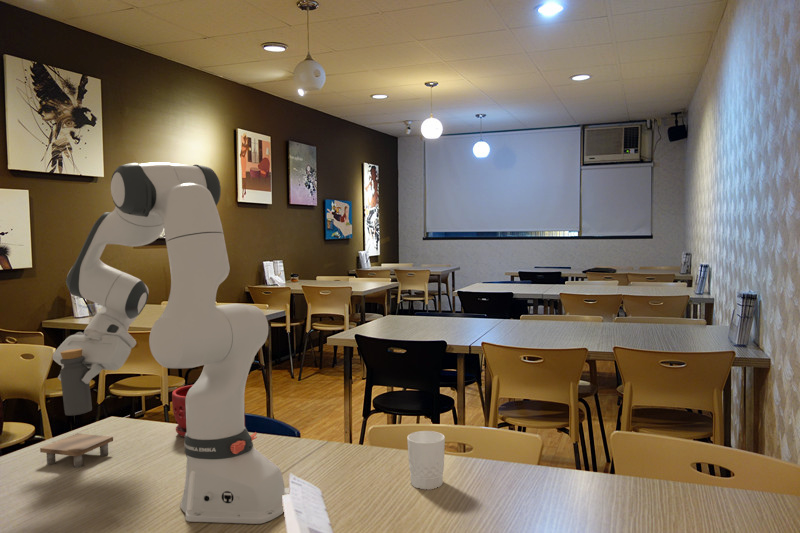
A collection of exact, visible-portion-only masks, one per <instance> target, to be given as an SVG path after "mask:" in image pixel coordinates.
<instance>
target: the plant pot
mask: <svg viewBox="0 0 800 533" xmlns="http://www.w3.org/2000/svg"><path fill="white" fill-rule="evenodd" d="M193 385H194V384H190V385H185V386H181V387H178V388H176V389H174V390H173V391H172V393H171V402H172V411H173V412H172V413H173V416H174V419H175V422H176V423H177V426H175V432H176V433H177V435H179V436H181V437H184V438H185V434H186V432H187V428H186V395H187V393H188V391H189V389H190V388H191V387H192V386H193Z"/></svg>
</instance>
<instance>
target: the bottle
mask: <svg viewBox="0 0 800 533" xmlns="http://www.w3.org/2000/svg"><path fill="white" fill-rule="evenodd" d="M82 350H83V349H72V350H66V351H62V352H60V353H61V356H62V359H61V360H60V362H61V364H64V368H63V369H62V368H61V369H60V371H59V374H60V377H61V381H60V384H61V391H62V400H63V410H64V415H65V416H69V417H70V416H71V417H72V416H78V415H83V414H86V413H88V412H91V411H92V410H93V406H92V403H93V402H92V394H91V388H90V382H89V383H88V384H85V383H82V382H81V381H80V380H79V379H80V378H81V376H82V375H83V374H86V373H87V372H88V371H89V368H87V366H85V365H83V364H82V361H84V360H85V358H84V356H82Z"/></svg>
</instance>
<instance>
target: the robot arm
mask: <svg viewBox="0 0 800 533" xmlns="http://www.w3.org/2000/svg"><path fill="white" fill-rule="evenodd" d="M219 179H220V178H219V176H218V175H217V174H216V172H215V170H213V169H212V168H211V167H208V166H205V165H199V164H193V165H191V164H183V163H173V162H172V163H171V162H167V161H164V162H163V161H162V162H160V161H159V162H158V161H157V162H144V163H138V162H130V163H126V164H121V165H119V166H117V167H116V169H115V170H114V172H113V173H112V175H111V178H110V192H111V198H112V201H113V202H112V203H113V204H114V205H115V207H114V209H113V210H112V211H110V212H109V211H107V212H104V213H103V214H102V215H100V216H99V217H98V218H97V220H96V221H95V222H94V224H93V225H92V227H91V229H90V231H89V233H88V235H87V237H86V238H85V241H84V242H83V244H82V248H81V250H80V252H79V254H78V256H77V258H76V260H75V262H74V263H73V265H72V267H71V268H70V270H69V271H68V273H67V275H66V279H65V285H66V287H67V289H68V291H69V293H70V294H71V296H75V297H77V298H81V299H83V300H87V301H90V302H91V303H94V304H97V305H100V307H101V309H100V310H99V311H97V313H95V315H94V316H93V317H92V319H91V320H90V321H89V323H88V325H87V326H86V327H85V329H84V331H83V332H82V331H78V332H76V333H74V334H71V335H69V336H67V337H66V338H65V340H64V341H62V343H60V345H59V346H58V347H57V348H56V349H55V351H54V352H53V354H52V360H53V361H54V362H55V363H56V364H58V365H59V366H61V369H63V368H64V364H61V362H60V360H61V359H62V356H61V353H60V352H62V351H66V350H72V349H83V350H82V356H84V358H85V360H84V361H82V364H83V365H85V366H87V369H88V372H87V373H86V374H83V375H82V376H81V378H80V379H79V380H80V381H81V382H82V383H85V384H88V383H89V384H90V382H91V381H92V379H93V378H95V377H96V376H97V375H99V374H100V373H101V371H102V370H105V371H115V372H116V371H118V370H119V369H121V368H122V367H123V366H124V364H125V363H126V361H127V360H128V358H129V356H130V354H131V352H132V349H133V348H135V346H136V345H137V341H136V340H135V338H134V337H133V336H132V334H130V333H129V332H128V331H129V328H130V326H131V324H132V323H133V322H135V321H136V320H137V318H138V317H139V315H140V314H141V313H142V311H143V309H144V308H145V306H146V305H147V302H148V299H149V292H150V290H149V287H148V286H147V285H146V283H144V281H143V280H141V279H140V278H138V277H136V276H133V275H132V274H129V273H127V272H124V271H123V270H122V271H121V270H119V269H118V268H115V267H112V266H111V265H108V264H106V263H104V262H103V261H102V260H101V256H102V254H103V252H104V250H105V248H106V246H107V245H119V246H124V247H143V246H146V245H149V244H152V243H153V242H155V241H156V240H157V239H159V237H160V236H161V235H162V232H163V231H164V238H165V245H166V250H167V256H168V263H169V269H170V281H171V282H170V292H169V296H168V300H167V303H166V306H165V308H164V310H163V312H162V313H161V315H160V317H158V318H157V320H156V321H155V322H154V324H152V327H151V329H150V333H149V337H148V338H149V339H148V344H149V350H150V353H151V355H152V357H153V358H154V359H155V361H156V362H157V363H158V364H159V365H160V366H162V367H163V368H166V369H193V368H196V367H197V368H198V367H201V366H203V368H202V371H201V373H200V376H199V377H198V379H197V380H196V381H195V382H194V384H192V385H193V386H192V387H191V388H190V389H189V391H188V393H187V395H186V428H187V432H186V434H185V437H184V452H185V456H186V470H185V471H186V472H185V482H184V486H183V487H184V488H183V492H182V497H181V501H180V509H181V510H182V511H183V513H184V514H185V518H184V519H185V521H187V522H190V523H192V522H194V523H195V522H196V523H198V522H199V523H220V524H221V523H224V524H252V525H253V524H256V525H258V524H264V523H268V522H270V521H272V520H274V519H276V518H278V517H279V516H281V515H282V514H284V513H283V506H282V495H284V494H289V487H285V482H284V481H285V480H284V477H283V473H282V471H281V469H280V467H279V466H278V465H277V464H276V463H274V462H273V461H271V460H270V459H269V458H267V456H265V455H264V454H263V453H261V452H260V451H259V450H258V449H256V447H255V446H254V443H253V441H254V440H255V439H257V438H258V436H257V432H254V433H252V434H250V433H249V430H248V429H247V427H246V425H245V426H244V404H245V393H246V392H245V391H246V385H247V379H248V376H249V372H250V370H251V367H252V364H253V362H254V360H255V356H257V353H258V352H259V351H260V349H261V348H262V347H263V346H264V344H266V341H267V339H268V336H269V322H268V320H267V319H268V318H267V316H266V315H265V314H264V311H263V310H261V308H259V307H258V306H256V305H253V304H252V305H251V304H246V303H227V304H220V305H219V304H218V305H216V302H217V300H216V299H217V292H218V288H219V286H220V285H221V284H222V283H223V282H224V281H225V280H226V279H227V278H228V277H229V273H230V271H231V270H230V269H231V268H230V267H231V266H230V262H229V256H228V251H227V246H226V241H225V235H224V230H223V225H222V221H221V218H220V214H219V210H218V208H217V205H218V203H219V202H220V200H221V194H222V188H221V182H220V180H219ZM57 379H58V380H59V381H60V382H61V377H60V373H59V375H58V376H57Z"/></svg>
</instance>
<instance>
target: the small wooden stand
mask: <svg viewBox="0 0 800 533" xmlns="http://www.w3.org/2000/svg"><path fill="white" fill-rule="evenodd" d="M113 441H114V437H113V436H107V435H97V434H87V433H80V432H79V433H75V434H73V435H70V436H67V437H65V438H63V439H60V440H57V441H55V442H52V443H50V444H46V445H44V446H42V447H39V452H40V453H45V454H46V464H47V465H55V464H56V462H57V461H56V460H57V459H56V455H62V456H72V457H73V467H74V468H75V469H76V468H77V469H78V468H82V467H83V465H84V464H83V455H84V454H86V453H89V452H91V451H93V450H95V449H98V448H99V455H100V456H101V457H102V456H104V457H105V456H107V455H109V443H111V442H113Z"/></svg>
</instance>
